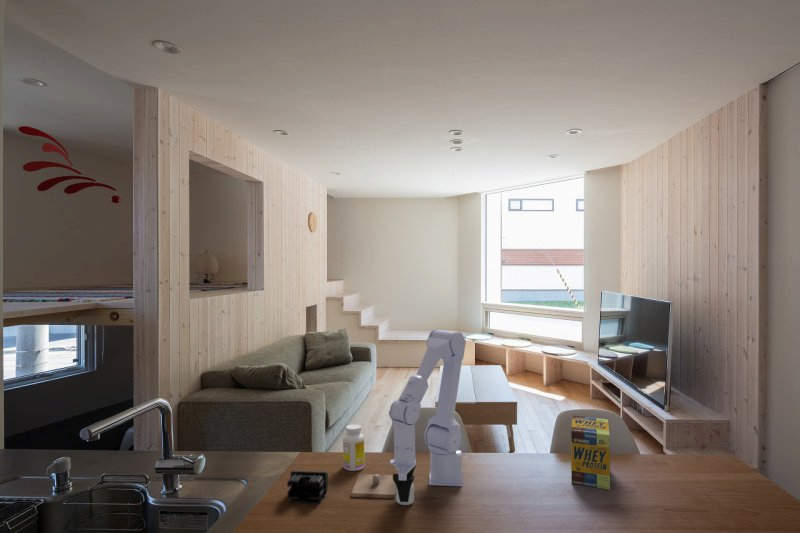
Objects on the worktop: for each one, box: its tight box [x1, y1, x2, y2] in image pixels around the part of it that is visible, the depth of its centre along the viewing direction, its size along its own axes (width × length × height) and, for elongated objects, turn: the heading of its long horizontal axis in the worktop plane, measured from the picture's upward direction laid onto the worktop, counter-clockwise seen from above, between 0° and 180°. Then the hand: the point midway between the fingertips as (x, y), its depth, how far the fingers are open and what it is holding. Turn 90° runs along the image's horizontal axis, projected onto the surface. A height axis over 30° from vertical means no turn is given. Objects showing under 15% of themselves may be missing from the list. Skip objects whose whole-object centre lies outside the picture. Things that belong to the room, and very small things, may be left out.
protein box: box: [570, 415, 611, 490], centre depth 142 cm, size 10×15×16 cm
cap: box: [395, 482, 415, 506], centre depth 129 cm, size 5×5×5 cm
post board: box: [350, 473, 397, 499], centre depth 137 cm, size 12×12×3 cm
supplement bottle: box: [342, 424, 366, 472], centre depth 150 cm, size 7×7×13 cm
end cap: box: [286, 470, 329, 505], centre depth 131 cm, size 10×7×7 cm
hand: (405, 495), depth 129 cm, fingers open, 6 cm apart
